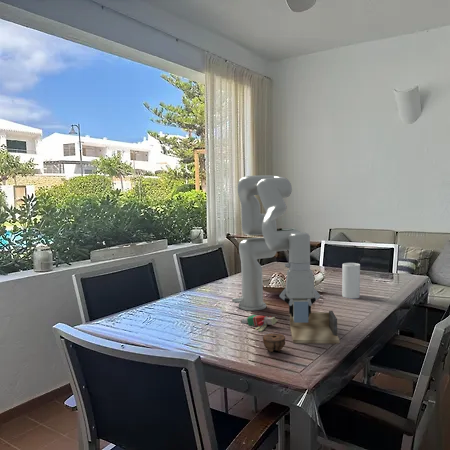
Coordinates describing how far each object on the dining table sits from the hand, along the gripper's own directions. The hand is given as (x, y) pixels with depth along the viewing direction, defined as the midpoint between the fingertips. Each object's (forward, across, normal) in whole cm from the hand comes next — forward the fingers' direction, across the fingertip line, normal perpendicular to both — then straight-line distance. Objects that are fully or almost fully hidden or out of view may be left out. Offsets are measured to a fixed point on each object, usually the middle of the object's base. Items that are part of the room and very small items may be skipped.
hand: (300, 315), depth 156 cm
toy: (+9, -16, +13) cm, 22 cm away
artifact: (+8, -10, -14) cm, 19 cm away
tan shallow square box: (+8, +5, +1) cm, 9 cm away
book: (+1, 0, 0) cm, 1 cm away
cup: (+8, +30, +55) cm, 63 cm away
